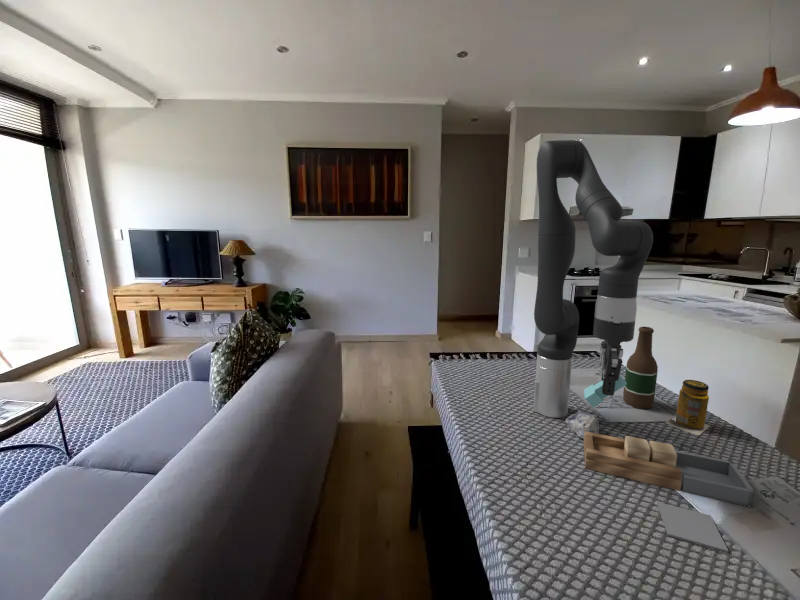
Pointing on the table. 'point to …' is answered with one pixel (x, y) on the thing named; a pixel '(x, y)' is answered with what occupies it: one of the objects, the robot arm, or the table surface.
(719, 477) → the tray
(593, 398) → the teal t-shaped block
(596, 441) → the slot board
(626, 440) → the tan wooden cube
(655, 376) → the beer bottle
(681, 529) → the mat
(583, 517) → the table surface
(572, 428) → the mineral specimen
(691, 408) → the condiment
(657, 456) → the tan block
